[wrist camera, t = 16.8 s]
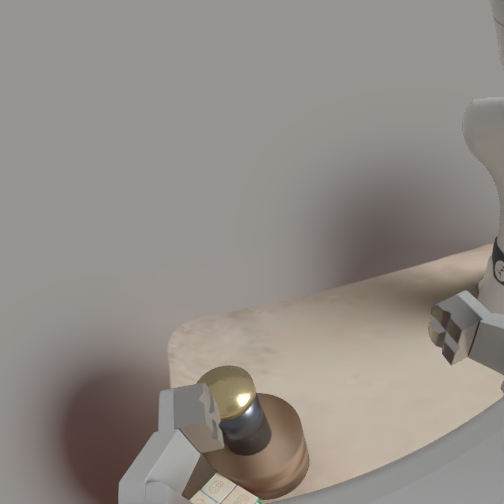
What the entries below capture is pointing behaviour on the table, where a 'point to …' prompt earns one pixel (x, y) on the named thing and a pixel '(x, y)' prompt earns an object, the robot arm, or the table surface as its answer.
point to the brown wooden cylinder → (268, 455)
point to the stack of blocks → (223, 493)
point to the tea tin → (238, 410)
